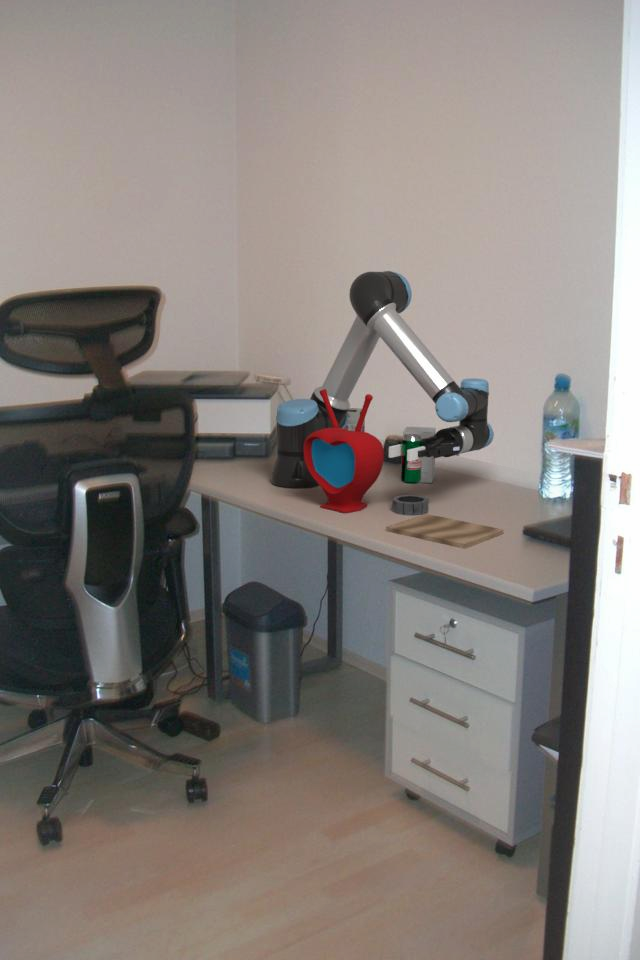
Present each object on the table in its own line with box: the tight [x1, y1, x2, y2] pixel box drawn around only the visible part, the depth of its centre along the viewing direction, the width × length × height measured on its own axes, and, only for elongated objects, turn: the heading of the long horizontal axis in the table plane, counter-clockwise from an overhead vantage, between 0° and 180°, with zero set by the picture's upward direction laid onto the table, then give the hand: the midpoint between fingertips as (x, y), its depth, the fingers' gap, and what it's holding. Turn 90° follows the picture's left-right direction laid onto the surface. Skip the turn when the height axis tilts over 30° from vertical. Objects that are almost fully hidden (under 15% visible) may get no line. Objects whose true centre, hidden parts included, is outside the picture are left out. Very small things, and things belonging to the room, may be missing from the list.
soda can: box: [400, 434, 422, 485], centre depth 239 cm, size 5×5×12 cm
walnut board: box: [385, 513, 504, 549], centre depth 222 cm, size 22×16×1 cm
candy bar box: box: [344, 407, 366, 432], centre depth 307 cm, size 11×5×16 cm, turn 74°
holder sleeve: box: [391, 494, 430, 516], centre depth 242 cm, size 9×9×3 cm
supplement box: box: [402, 426, 437, 484], centre depth 276 cm, size 9×9×15 cm
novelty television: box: [303, 389, 385, 514], centre depth 243 cm, size 21×13×30 cm, turn 46°
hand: (399, 453), depth 235 cm, fingers closed on soda can, 5 cm apart
